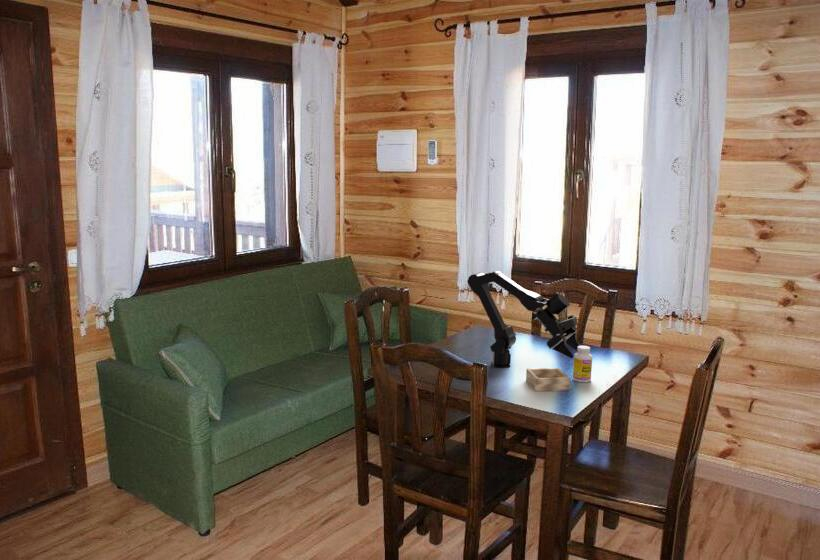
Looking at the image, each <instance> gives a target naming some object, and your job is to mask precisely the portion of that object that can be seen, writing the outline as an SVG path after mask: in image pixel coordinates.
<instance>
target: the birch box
mask: <svg viewBox="0 0 820 560" xmlns="http://www.w3.org/2000/svg"><path fill="white" fill-rule="evenodd" d="M525 380H526V382H527V384H529V385H530V387H531V388H532V389H533V390H534V391H535V392H561V391H562V392H563V391H565V392H566V390H568V391H570V385H571V383H570V381H571V378H570V376H568V375H567V374H566V373H565V372H564V371H563V370H562V369H560V368H559V367H540V368H538V367H537V368H536V367H535V368H534V367H533V368H526V374H525Z"/></svg>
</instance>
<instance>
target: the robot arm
mask: <svg viewBox="0 0 820 560" xmlns="http://www.w3.org/2000/svg"><path fill="white" fill-rule="evenodd" d="M466 283H467V285H468V287H469V289H471V291H472V292H473V293H474V294H475V295H476V296H477V297H478V298H479V300H480V303H481V304H482V307H483V309H484V311H485V313H486V315H487V318H488V319H489V322H490V323H491V325H492V327H493V334H494V335H493V336H494V339H495V341H494V343H493V344H491V345H490V346H489V347H490V350H491V352H492V353H491V354H492V358H491V359H492V360H491V362H490V363H491V365H492V366H493V367H494V368H508V367H509V368H511V363H512V362H511V356H512V354H511V353H510V352H511V351H510V349H512V346H513V345H515V344H516V341H517V337H516V336H517V334H516V333H515V331H514V328H513V326H512V325H510V326H508V325H507V324H506V323H505V321H504V319H503V317H502V315H501V313H500V311H499V309H498V307H497V305H496V303H495V301H494V300H495V299H493V296H492V294H491V292H490V284H491V283H495V284H497V286H499V287H501V288H503V290H505V291H506V292H508V293H509V294H511V295H512V296H514V297H515V298H516V299H518V301H519V302H520V304H521V305H522V307H524V309H526V310H527V311H529V312H532V313H531V321H535V320H538V321H539V322H540V323H541V324H542V326H543V327H544V332H545V333H547V332H548V333H549V335H550V336H551V337H550V339H549V340H547V342H546V346H547V348H548V349H550V350H551V349H552V350H554V351H556V352H558V353H560V354H563V355H565V356H566V357H568V358H570V359H574V354H573V352H572V351H571V349H570V348H569V347H571V348H572V349H574V350H575V351H577V352H578V350H577V347H578V346H581V345H580V343H579V341H578V338H577V336H578V331H579V330H578V328H577V327H576V326H579V323H578V320H579V319H578V318H577V317H576V316H575V315H573V314H570V315H568V316H567V319H565V320H562V319H561V318H557V316H559V315H560V314H562V313H563V312H564V311H565V310H566V309H568V308H569V307H570V306H571V304H570V301H569V299H568V298H567V297H565V296H564V295H563V294H560V292H555V293H554V294H553V296H551V297H550V298H549V299H548V298H545V297H543V296H542V295H540V294H539V293H537V292H534V291H532V290H528V289H526V288H524V287H522V286H521V285H519V284H517V283H516V282H515V281H514V280H512V279H511V278H509V277H508V276H506V275H505V274H504V273H503V272H501V271H500V270H495V271H492V272H488V273H483V272H477V273H474V274H473V273H472V274H471V275H470V276H468V279H467V282H466ZM544 307H545V308H544ZM535 311H537V312H535Z"/></svg>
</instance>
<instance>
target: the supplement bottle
mask: <svg viewBox="0 0 820 560" xmlns="http://www.w3.org/2000/svg"><path fill="white" fill-rule="evenodd" d="M577 350H578V351H577V352H575V353H574V354H573V356H574V357H573V366H572V367H573V369H572V379H573V381H575V382H578V383H588V382H591V380H592V368H593V355H592V354H591V353H590V352H591V347H590V346H587V345H580V346H578V347H577Z"/></svg>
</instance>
